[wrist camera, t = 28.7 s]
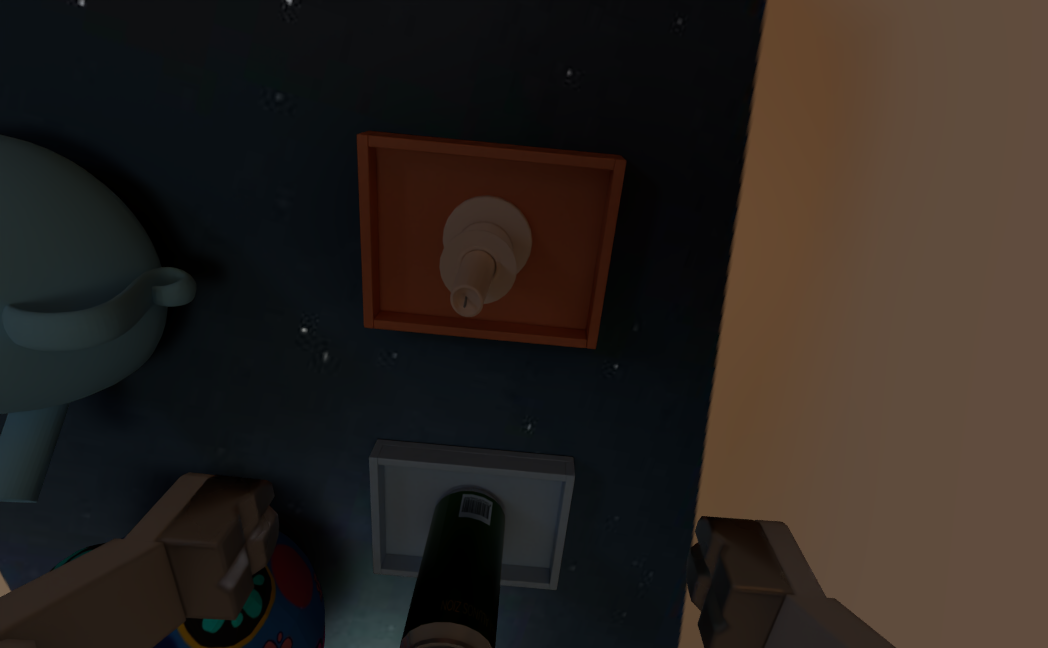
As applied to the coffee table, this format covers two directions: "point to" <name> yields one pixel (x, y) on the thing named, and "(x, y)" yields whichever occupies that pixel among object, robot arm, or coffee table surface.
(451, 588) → the beer can
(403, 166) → the terracotta tray
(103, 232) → the teapot
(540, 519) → the gray tray
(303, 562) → the ceramic pot
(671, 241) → the coffee table surface
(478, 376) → the coffee table surface
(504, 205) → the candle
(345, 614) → the coffee table surface
